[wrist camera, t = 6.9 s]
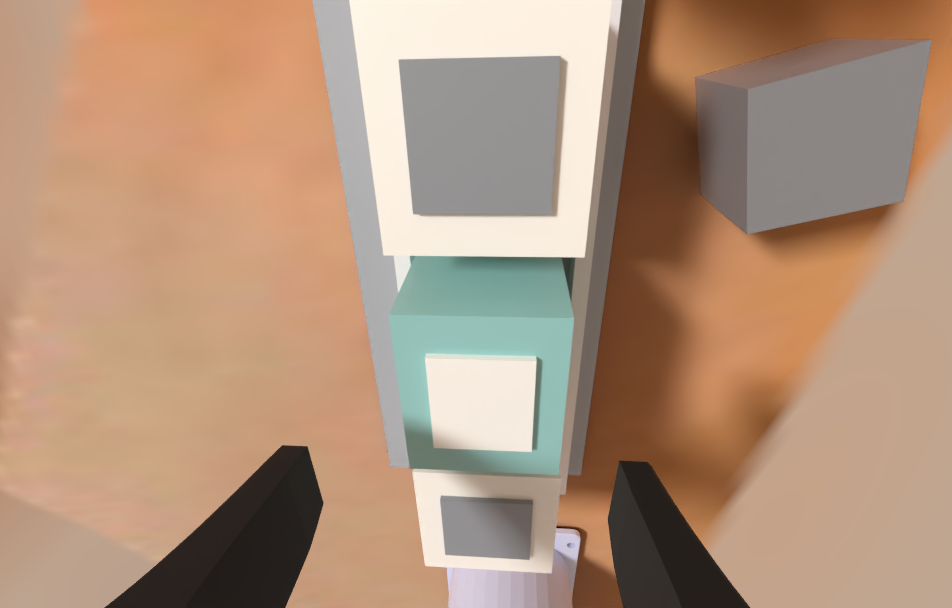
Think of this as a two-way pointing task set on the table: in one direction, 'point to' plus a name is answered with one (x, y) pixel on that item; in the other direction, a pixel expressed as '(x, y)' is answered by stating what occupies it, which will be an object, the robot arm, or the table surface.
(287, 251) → the table surface
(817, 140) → the dark loose block
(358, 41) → the board
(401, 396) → the block
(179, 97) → the table surface
